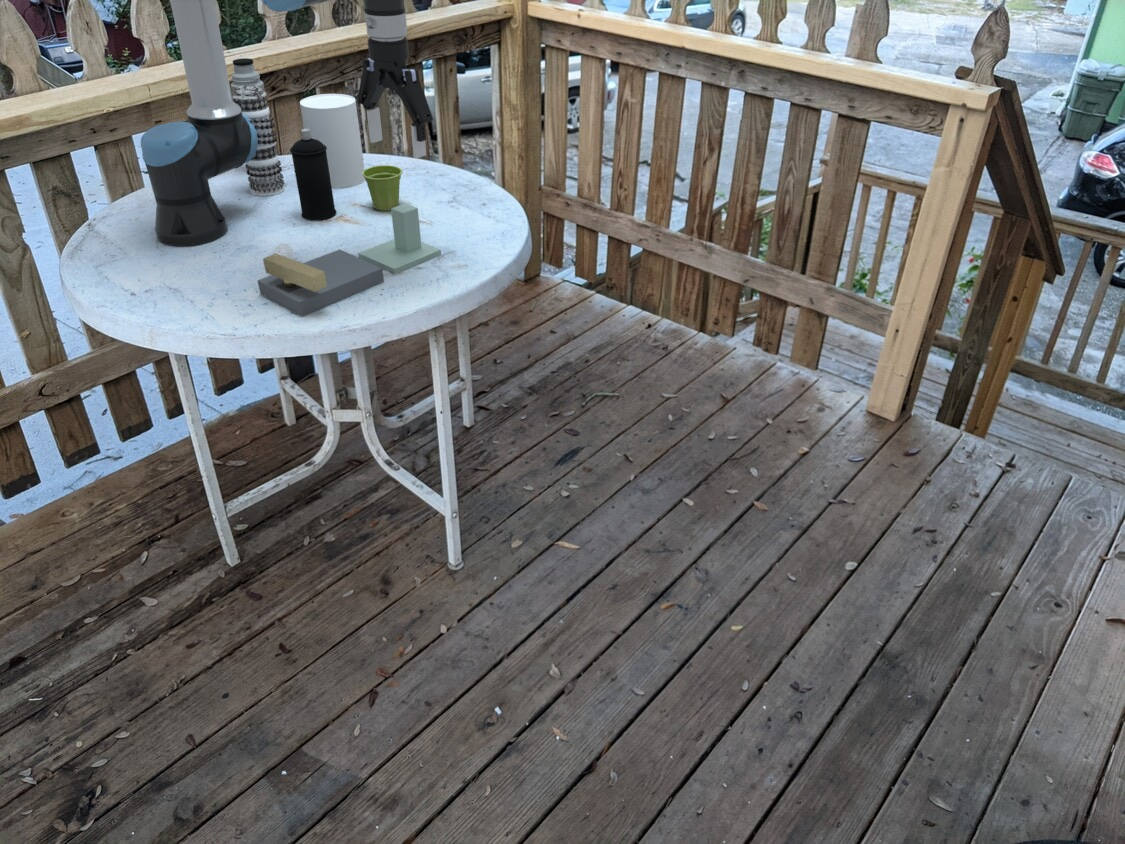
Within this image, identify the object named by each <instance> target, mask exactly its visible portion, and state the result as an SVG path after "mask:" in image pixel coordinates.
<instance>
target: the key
mask: <svg viewBox="0 0 1125 844" xmlns="http://www.w3.org/2000/svg"><path fill="white" fill-rule="evenodd" d="M262 261H263V265H264V270H265V274H268V275H269V276H271V275H273V276H275V277H278V278H281V279H283V281H284V286H285V287H294V286H296V285H299V286H301V287H304V288H307V289H309V290H312V291H314V292H316V291H318V290H320V289H322V288H324V287H326V286H327V282H326V277H325V272H324V271H322V270H319V269H316V268H314V267H311V266H308V265H305V264H303V263H304V262H303V263H302V262H299V261H297V260H294V259H291V258H289V257H286V256H283V255H280V254H278V253H273V254H271V255H269V256H266V257H264V258H262Z"/></svg>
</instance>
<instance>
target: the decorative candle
mask: <svg viewBox="0 0 1125 844" xmlns="http://www.w3.org/2000/svg"><path fill="white" fill-rule="evenodd" d="M231 95H232V100H233V102H234V103H236V104H237V105H238V106H239V107H241V111H242V113H243V114H245V115H246V116H247V117H248V118H249V119H250V123H251V124H253V125H254V127H255V130H256V133H257V138H258V146H257V151H256V153H255V155H254V157H253V158H252V159H251V160H250V161H249V162H247V163H245V164H244V165H245V169H247V170H246V174H247V176H248V177H247V180H248V183H249V185H248V186H249V188H250V192H251V194H252V195H254V196H259V197H271V196H275V195H279V194H281V193H283V192H285V190H286V187H285V186H286V185H285V180H284V174H283V173H281V172H283V169H282V166H281V164H282V163H281V160H279V155H278V153H276V152H277V149H276V148H277V147H276V145H277V141H278V139H277V137H274V136H276V133H277V132H276V131H274V130H273V129H274V128H275V126H276V125H275V123H274V122H272V121H274V119H275V118H274V117H273V116H271V115H270V113H271V112H270V106H269V105H268V100H266V99H267V95H268V93H267V91H265V92H264V91H263V90H262V89H261V88H260V87H258V86H242V87H239V88H237V89H236V90H235V93H234V94H231ZM270 122H271V123H270ZM271 128H272V129H271Z"/></svg>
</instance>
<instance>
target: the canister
mask: <svg viewBox="0 0 1125 844" xmlns="http://www.w3.org/2000/svg"><path fill="white" fill-rule="evenodd" d="M356 101H357V99H356V98H355V97H354V96H352V95H350V94H343V93H323V94H321V93H320V94H315V95H311V96H307V97H305V98H302V99H301V100H300V101H299V105H300V106H299V107H300V111H301V119H302V124H303V129H309V130H310V135H311V138H312V139H316V140H319V141H320V142H321V143H323V144H324V145H325V146H326V147H327V149H326V154H327V160H328V167H329V173H330V180H331V186H332V188H334V190H337V188H339V189H346V188H347V187H348V188H352V187H356V186H358V185H360V184H363V182H366V180H365V177H364V176H363V175H362V172H363V171H364V170H365V169H366V168H365V163H364V154H363V148H362V140H361V132H360V125H359V117H358V108H357V103H356Z"/></svg>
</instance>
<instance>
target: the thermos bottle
mask: <svg viewBox="0 0 1125 844" xmlns="http://www.w3.org/2000/svg"><path fill="white" fill-rule="evenodd" d="M232 64H233V71H234V72H233V73H232V74H231V80H232V83H231V84H230V89H231V95H233V94H234V93H235V90H236V89H237V88H239V87H242V86H258V87H260V88H261V89H262V90H263V91H264V92H266V88H265V86H264V85H265V84H264V82H263V80H261V78H260V77H261V75H260V74H259V72H258V71H256V70H255V67H254V60H253V59H252V58H247V57H246V58H236V59H233V60H232ZM266 100H267V98H266ZM267 101H268V100H267ZM270 123H271V122H270ZM271 129H272V130H273V128H271ZM276 153H277V151H276ZM277 154H278V153H277Z"/></svg>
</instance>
